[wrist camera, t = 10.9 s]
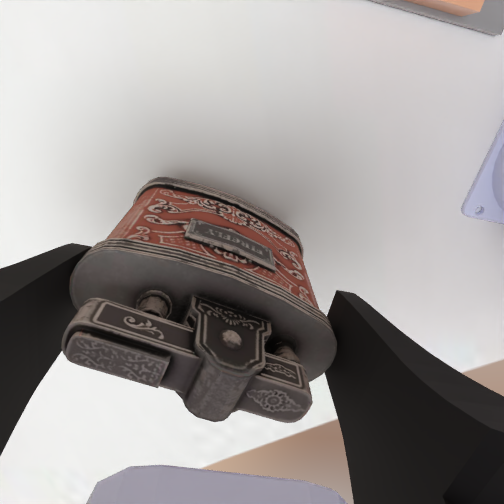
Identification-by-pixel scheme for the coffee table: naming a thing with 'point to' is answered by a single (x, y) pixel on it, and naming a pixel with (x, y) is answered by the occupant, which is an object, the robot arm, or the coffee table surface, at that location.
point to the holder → (458, 12)
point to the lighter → (202, 305)
